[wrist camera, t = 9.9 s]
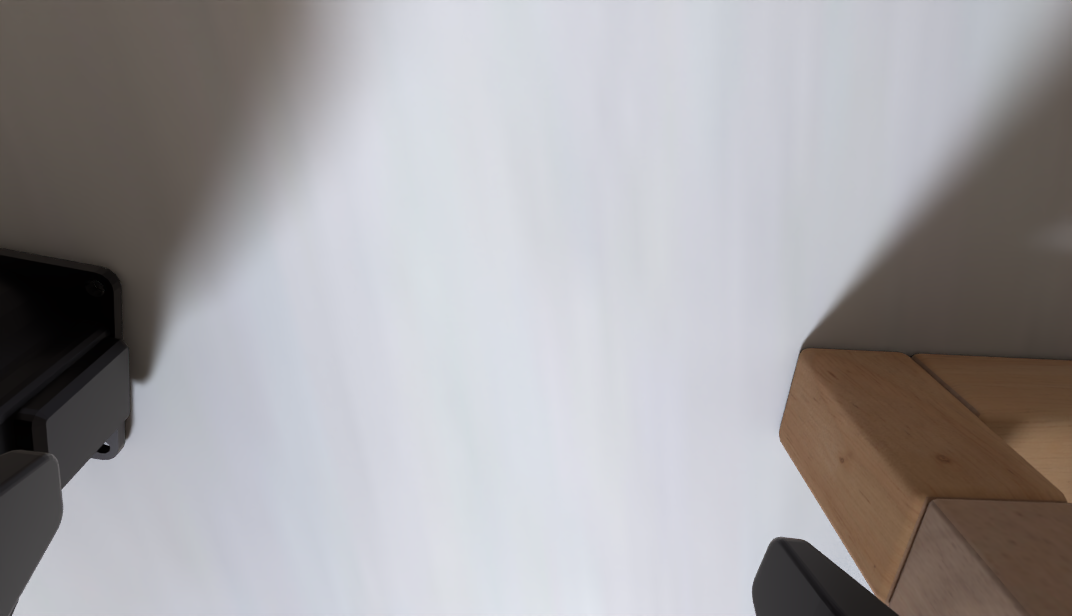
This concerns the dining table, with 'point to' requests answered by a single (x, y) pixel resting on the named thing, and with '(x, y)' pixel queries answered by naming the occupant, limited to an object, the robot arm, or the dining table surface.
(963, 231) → the dining table surface
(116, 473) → the dining table surface
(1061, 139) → the dining table surface
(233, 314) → the dining table surface
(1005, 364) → the wooden block
